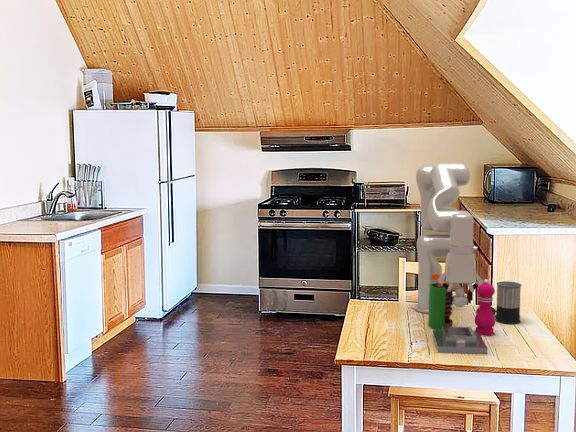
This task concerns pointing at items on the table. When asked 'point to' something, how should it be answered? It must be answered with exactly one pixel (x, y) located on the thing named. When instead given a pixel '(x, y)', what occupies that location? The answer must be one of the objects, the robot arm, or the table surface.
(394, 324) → the table surface
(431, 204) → the robot arm
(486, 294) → the pepper mill
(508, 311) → the milk frother
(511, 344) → the table surface
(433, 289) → the green round disc holder
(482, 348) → the plate
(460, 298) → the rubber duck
